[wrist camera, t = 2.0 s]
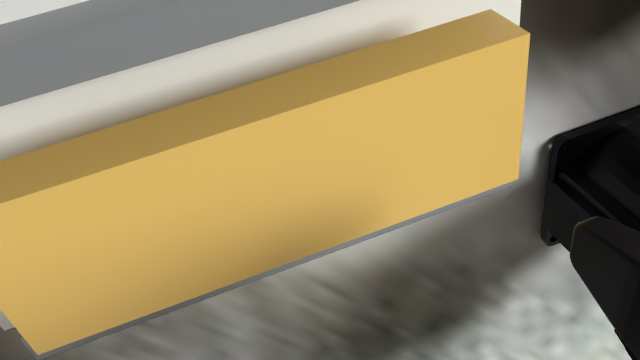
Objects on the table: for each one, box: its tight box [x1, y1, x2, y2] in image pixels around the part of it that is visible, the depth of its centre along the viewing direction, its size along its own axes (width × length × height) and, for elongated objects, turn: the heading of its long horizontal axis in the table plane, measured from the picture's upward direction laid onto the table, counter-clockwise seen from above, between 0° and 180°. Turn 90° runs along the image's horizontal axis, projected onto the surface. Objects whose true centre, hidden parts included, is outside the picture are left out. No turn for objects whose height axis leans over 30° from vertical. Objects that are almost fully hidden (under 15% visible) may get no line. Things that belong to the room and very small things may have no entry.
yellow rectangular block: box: [0, 9, 530, 355], centre depth 13 cm, size 12×4×2 cm, turn 99°
